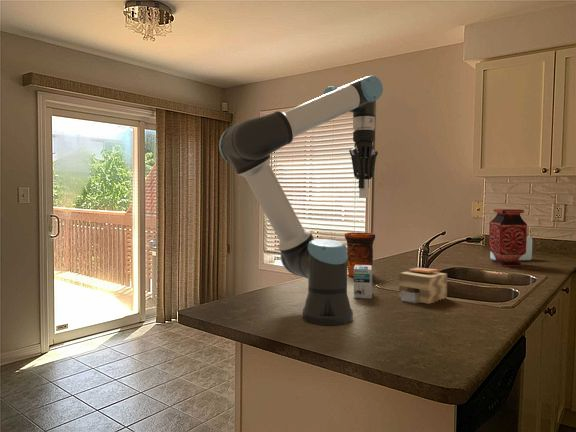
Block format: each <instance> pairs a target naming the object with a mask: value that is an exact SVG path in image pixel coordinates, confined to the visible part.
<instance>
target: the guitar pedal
mask: <svg viewBox="0 0 576 432" xmlns="http://www.w3.org/2000/svg"><path fill="white" fill-rule="evenodd" d="M489 254H490V255H489V256H490V260H492V261H493V260H496V258H495V256H494V255H493V253H492V252H491V251H490V250H489ZM532 258H533V238H532V237H531V236H527V243H526V254H524V255H522V256H521V257H520V258H519V260H518V261H531V260H532Z"/></svg>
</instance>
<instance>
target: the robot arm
mask: <svg viewBox="0 0 576 432" xmlns="http://www.w3.org/2000/svg"><path fill="white" fill-rule="evenodd" d="M383 91H384V86H383V83H382V81H381V80H380V78H379V77H377V76H376V75H369V76H364V77H363V78H360V79H357V80H355V81H352V82H350V83H347V84H345V85H342V86H340V87H338V86H336V85H334V86H327V87H325V89H324V91H323V93H322V95H321V96H320V95H319V97H316V98H314V99H311V100H309V101H307V102H304V103H302V104H299V105H298V106H295V107H293V108H290V109H288V110H286V111H280V110H277V111H273V112H272V113H268V114H265V115H263V116H258V117H253V118H250V119H249V118H248V119H245V120H243V121H241V122H239V123H235V124H233V125H231V126H229V127H227V128H226V129H225V131H223V133H222V134H221V136H220V138H219V141H218V148H219V153H220V155H221V157H222V158H223V159H224V160H225V161H226V162H227V163H228V164H231V165H232V167H233V169H234V170H235V172H236V174H237V176H241V177H243V178H245V180H246V182H247V184H248V185H249V188H250V189H251V190H252V193H253V195H254V196H255V198H256V200H257V202H258V204H259V206H260V208H261V209H262V211H263V213H264V215H265V216H266V218H267V220H268V222H269V224H270V225H271V227H272V229H273V231H274V233H275V234H276V236H277V238H278V240H279V242H278V243H279V244H278V249H279V252H280V262H281V264H282V266H283V267H284V269H285V270H287V271H288V272H289V273H291V274H293V275H294V276H298V277H301V278H305V279H308V280H307V281H308V282H307V283H308V285H307V286H308V292H307V297H306V300H305V305H304V306H303V309H302V320H303V321H305V322H307V323H309V324H314V325H321V326H339V325H344V324H348V323H351V322H352V321H353V319H354V318H353V317H354V315H353V313H354V312H353V309H352V308H351V303H350V299H349V296H348V275H347V274H348V267H347V259H348V256H347V245H346V244H345V243H343V242H341V241H338V240H336V239H335V240H334V239H327V238H319V239H318V238H316V239H315V238H314V236H313V234H312V232H311V230H309V229H306V228H304V227H303V225H302V224H301V221H300V220H299V218H298V215H297V214H296V212H295V210H294V208H293V206H292V204H291V202H290V201H289V199H288V196H287V194H286V192H285V191H284V188H283V187H282V186H281V184H280V182H279V180H278V178H277V176H276V174H275V172H274V169H272V167H271V164H270V162H271V159H272V156H271V154H273V153H274V152H276V151H279V150H280V149H282V148H283V147H285V146H287V145H289V144H291V143H292V142H293V141H294V138H296V137H298V136H300V135H302V134H304V133H306V132H308V131H310V130H312V129H314V128H317V127H319V126H321V125H323V124H325V123H327V122H330V121H331V120H334V119H337V118H338V117H340V116H343V115H344V114H346V113H352V130H354V131H353V132H352V141H353V142H354V145H353V146H354V147H353V148H352V149H349V154H350V158H351V164H352V170H353V171H352V172H353V177H355V179H356V180H358V194H359V195H358V196H359V197H358V198H360V199H368V198H369V188H370V187H369V185H370V184H369V182H370V180H371V179H372V178H374V171H375V166H376V159H377V156H378V154H379V153H378V150H375V149H374V145H373V142H375V140H376V132H375V129H376V124H375V123H376V121H375V119H376V101H377V100H378V99H380V98H381V97H382V94H383Z"/></svg>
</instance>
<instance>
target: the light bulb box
mask: <svg viewBox="0 0 576 432" xmlns="http://www.w3.org/2000/svg"><path fill="white" fill-rule="evenodd" d="M372 275H373V264H372V265H355V266H354V276H353V298H354V299H369V300H370V299H373V277H372Z"/></svg>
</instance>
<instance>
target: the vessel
mask: <svg viewBox="0 0 576 432" xmlns="http://www.w3.org/2000/svg"><path fill="white" fill-rule="evenodd" d="M344 239H345V240H346V248H347V256H348V259H347V276H350V277H354V266H355V265H372V266H373V265H374V264H373V260H374V257H373V256H374V255H373V254H374V253H373V251H374V249H373V245H374V241H375V240H376V234H375V233H374V232H357V231H356V232H354V231H351V232H345V233H344ZM373 277H374V274H372V278H373Z"/></svg>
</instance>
